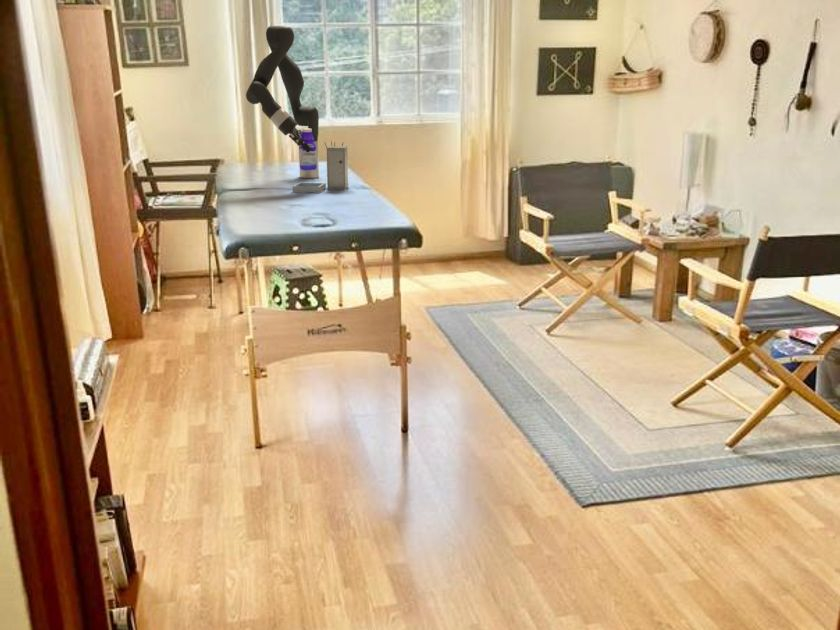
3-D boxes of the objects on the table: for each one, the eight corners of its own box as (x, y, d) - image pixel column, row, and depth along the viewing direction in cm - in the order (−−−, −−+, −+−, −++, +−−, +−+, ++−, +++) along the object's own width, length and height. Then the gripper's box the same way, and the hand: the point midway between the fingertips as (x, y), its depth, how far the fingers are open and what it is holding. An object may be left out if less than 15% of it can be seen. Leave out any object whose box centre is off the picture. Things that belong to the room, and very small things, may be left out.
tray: (299, 188, 357) (298, 182, 356) (325, 188, 356) (325, 183, 355) (292, 192, 346) (292, 186, 345) (319, 192, 345) (319, 187, 344)
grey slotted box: (330, 187, 361) (329, 146, 356) (348, 187, 360) (347, 146, 355) (327, 189, 354) (326, 147, 349) (345, 189, 353) (344, 148, 348)
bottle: (302, 171, 344) (301, 129, 339) (298, 169, 349) (296, 128, 344) (318, 170, 347) (317, 129, 342) (313, 168, 352) (313, 128, 347)
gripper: (285, 116, 335) (313, 145, 338) (293, 114, 349) (321, 142, 351) (273, 129, 337) (301, 158, 340) (282, 126, 351) (309, 154, 353)
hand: (311, 150), depth 346 cm, fingers closed on bottle, 6 cm apart
